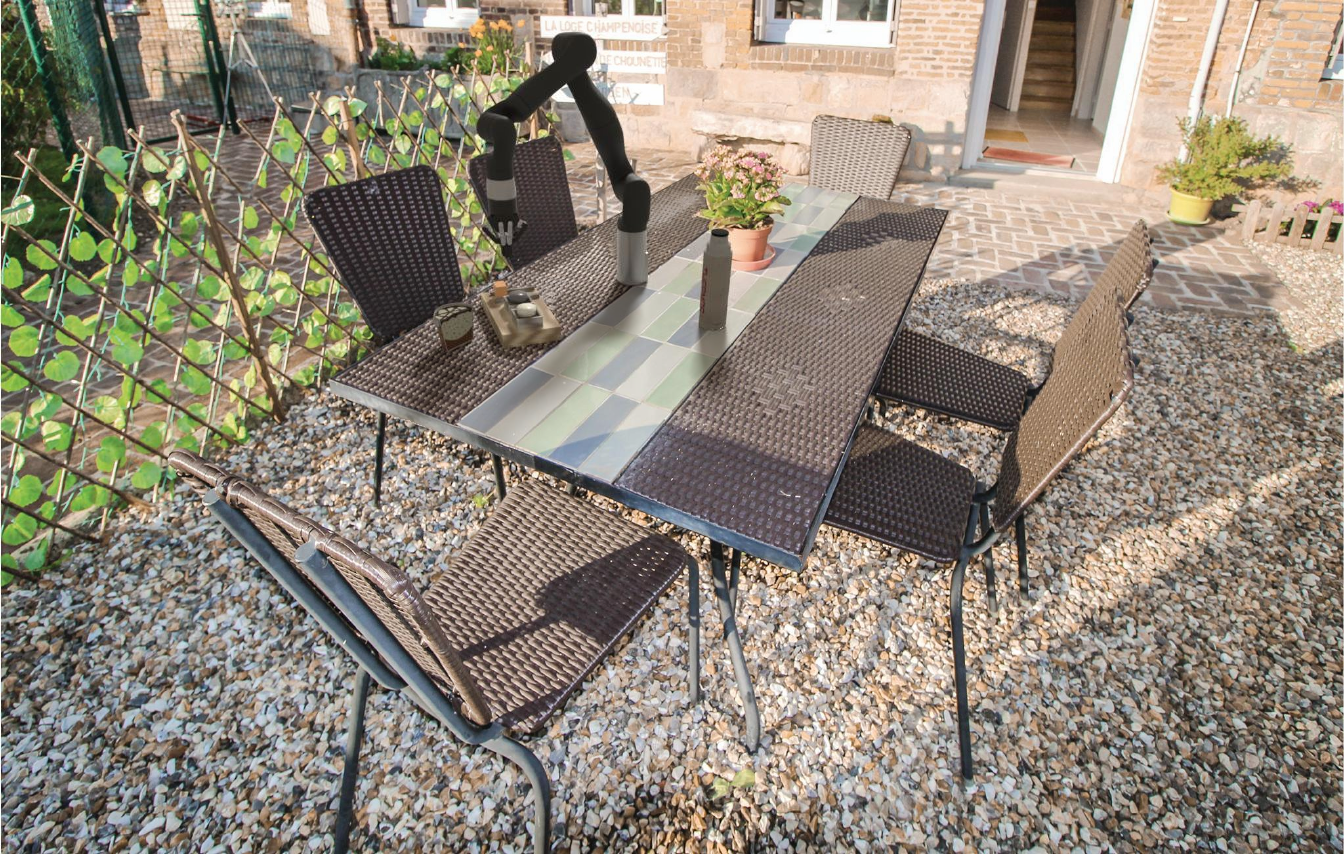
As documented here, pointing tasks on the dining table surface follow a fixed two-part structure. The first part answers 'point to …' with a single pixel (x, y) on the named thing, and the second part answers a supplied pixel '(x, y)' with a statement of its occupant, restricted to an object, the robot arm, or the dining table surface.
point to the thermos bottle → (715, 280)
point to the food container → (454, 324)
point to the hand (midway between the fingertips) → (506, 257)
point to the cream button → (526, 310)
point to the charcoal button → (518, 296)
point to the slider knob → (500, 289)
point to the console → (520, 319)
